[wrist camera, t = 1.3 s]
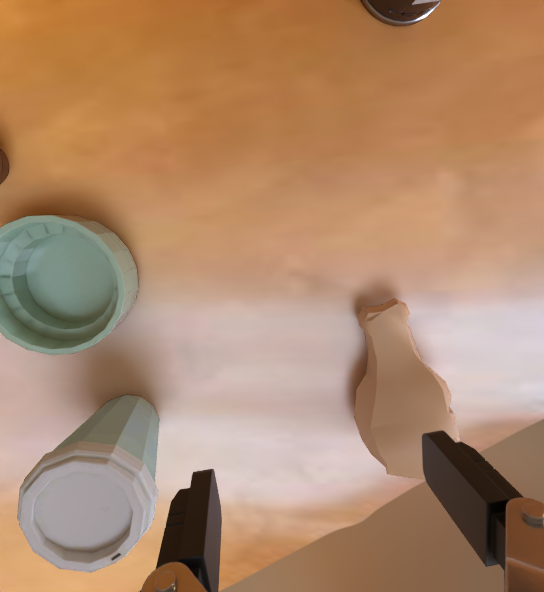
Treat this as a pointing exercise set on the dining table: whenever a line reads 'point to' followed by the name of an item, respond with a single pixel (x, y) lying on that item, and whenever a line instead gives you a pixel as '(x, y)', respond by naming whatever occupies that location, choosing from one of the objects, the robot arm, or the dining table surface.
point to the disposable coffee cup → (94, 489)
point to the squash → (398, 393)
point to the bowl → (63, 283)
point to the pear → (3, 166)
